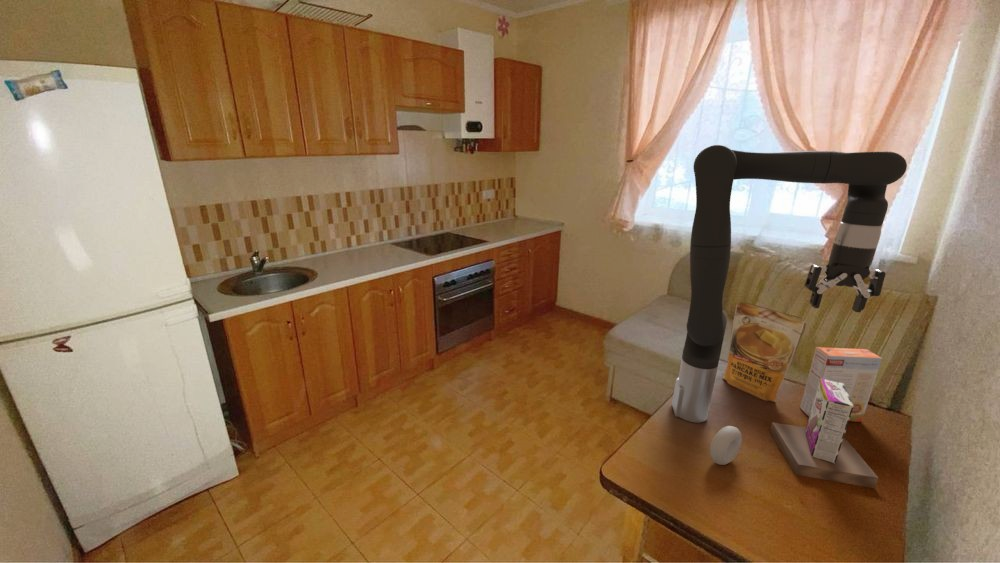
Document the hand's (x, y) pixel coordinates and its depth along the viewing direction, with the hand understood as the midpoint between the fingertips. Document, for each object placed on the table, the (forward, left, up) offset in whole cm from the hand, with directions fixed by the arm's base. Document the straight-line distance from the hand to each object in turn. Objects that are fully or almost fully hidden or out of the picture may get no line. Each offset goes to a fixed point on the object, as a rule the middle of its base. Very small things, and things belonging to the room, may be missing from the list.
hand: (835, 309), depth 95 cm
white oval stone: (-22, -15, -38) cm, 46 cm away
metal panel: (+2, -7, -38) cm, 38 cm away
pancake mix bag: (-5, +23, -38) cm, 45 cm away
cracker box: (+14, +14, -38) cm, 43 cm away
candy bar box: (+2, -7, -35) cm, 36 cm away
